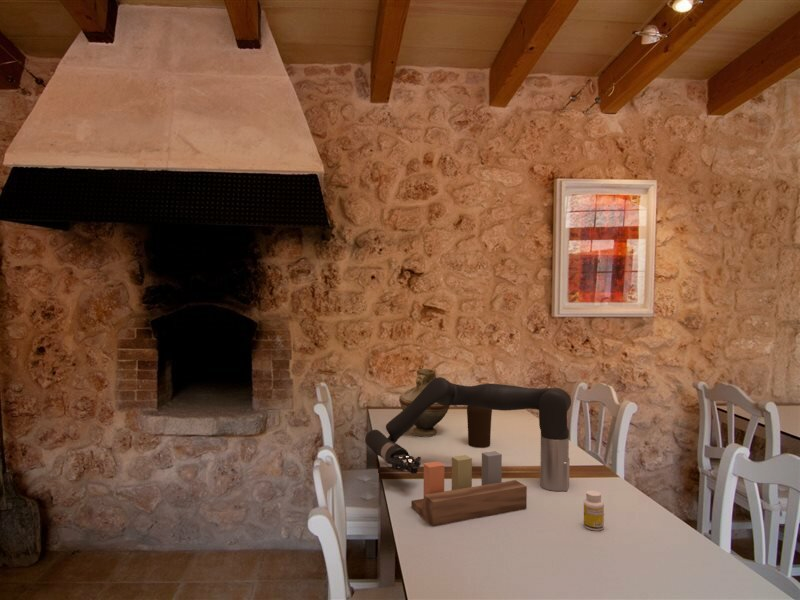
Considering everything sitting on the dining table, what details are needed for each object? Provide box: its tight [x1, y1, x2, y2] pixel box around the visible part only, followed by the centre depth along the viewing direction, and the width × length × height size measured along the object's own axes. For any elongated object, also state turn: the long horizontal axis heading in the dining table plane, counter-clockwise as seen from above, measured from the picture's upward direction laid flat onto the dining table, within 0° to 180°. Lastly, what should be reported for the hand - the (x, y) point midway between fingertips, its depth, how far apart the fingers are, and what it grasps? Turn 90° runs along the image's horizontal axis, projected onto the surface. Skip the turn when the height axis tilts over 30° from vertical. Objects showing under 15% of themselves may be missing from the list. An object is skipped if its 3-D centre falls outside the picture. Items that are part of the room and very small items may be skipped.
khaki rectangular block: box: [451, 454, 473, 490], centre depth 174 cm, size 4×5×12 cm
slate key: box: [481, 450, 503, 485], centre depth 179 cm, size 4×5×12 cm
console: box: [411, 479, 528, 527], centre depth 170 cm, size 15×32×7 cm, turn 113°
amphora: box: [398, 368, 451, 437], centre depth 256 cm, size 24×24×30 cm
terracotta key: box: [423, 461, 445, 496], centre depth 168 cm, size 4×5×12 cm
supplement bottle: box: [583, 490, 605, 531], centre depth 157 cm, size 5×5×10 cm
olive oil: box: [466, 405, 493, 449], centre depth 238 cm, size 11×11×25 cm
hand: (415, 470), depth 180 cm, fingers closed
